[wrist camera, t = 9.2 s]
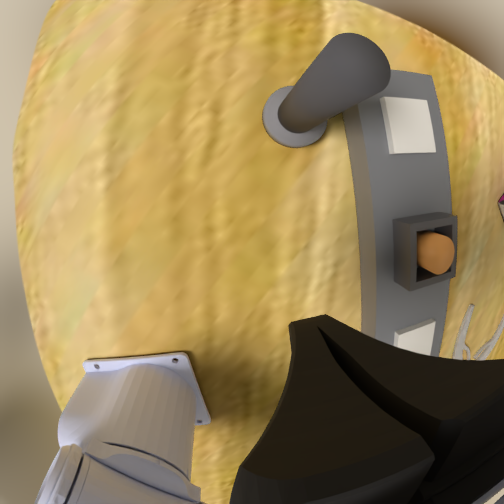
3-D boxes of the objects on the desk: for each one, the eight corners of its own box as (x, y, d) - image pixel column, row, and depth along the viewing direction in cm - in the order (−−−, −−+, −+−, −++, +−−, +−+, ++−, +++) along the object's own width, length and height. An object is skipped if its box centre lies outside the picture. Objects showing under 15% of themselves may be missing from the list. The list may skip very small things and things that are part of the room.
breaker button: (406, 267, 17) (427, 278, 15) (406, 231, 17) (428, 239, 14) (432, 260, 17) (453, 270, 15) (432, 226, 17) (454, 233, 14)
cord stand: (267, 151, 17) (315, 119, 8) (257, 93, 16) (289, 12, 7) (327, 144, 18) (419, 119, 8) (316, 88, 17) (392, 22, 7)
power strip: (359, 376, 22) (380, 409, 18) (334, 78, 16) (362, 55, 12) (422, 353, 23) (447, 379, 18) (413, 83, 17) (448, 69, 12)
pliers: (516, 307, 22) (469, 407, 25) (508, 302, 24) (463, 401, 27) (476, 308, 21) (420, 423, 24) (466, 302, 22) (415, 415, 26)
